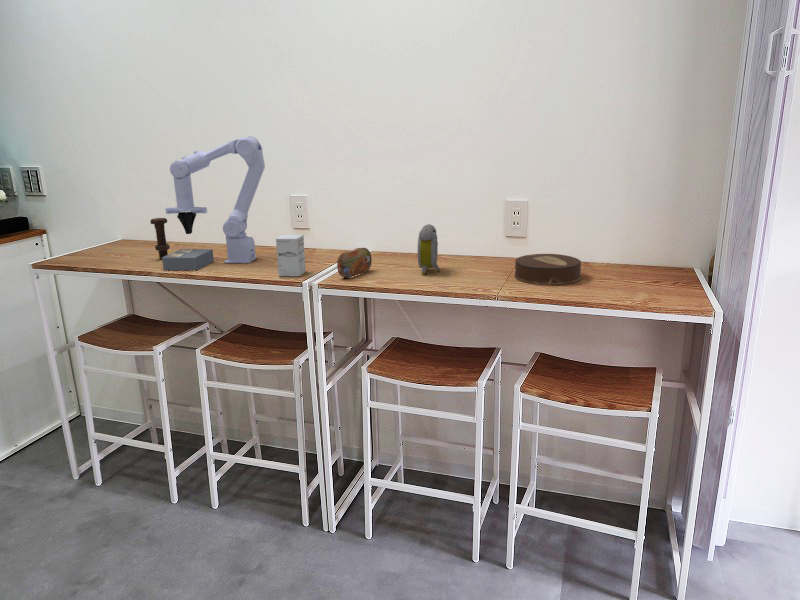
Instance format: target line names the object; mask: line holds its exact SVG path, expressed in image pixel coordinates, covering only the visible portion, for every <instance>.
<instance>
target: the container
mask: <svg viewBox="0 0 800 600" xmlns="http://www.w3.org/2000/svg"><path fill="white" fill-rule="evenodd" d="M514 262H515V264H514V265H515V267H514V269H515V270H514V279H516V280H517V281H519V282H521V283H525V284H530V285H534V286H535V285H536V286H547V287H550V286H566V285H571V284H576V283H578V282H579V281H581V280H582V278H581V272H582V271H581V267H582V261H581V260H580V259H578V258H577V257H575V256H570V255H566V254H559V253H533V254H526V255H522V256H521V255H520V256H518V257H517V258H516V259H515V261H514Z"/></svg>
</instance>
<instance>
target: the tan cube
mask: <svg viewBox="0 0 800 600" xmlns="http://www.w3.org/2000/svg"><path fill="white" fill-rule="evenodd" d="M183 255H185V254H172V255H170V256H168V257H181V256H183Z"/></svg>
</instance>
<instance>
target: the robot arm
mask: <svg viewBox="0 0 800 600" xmlns="http://www.w3.org/2000/svg"><path fill="white" fill-rule="evenodd" d="M228 154H233V155H237V154H238V155H239V156H240V157H241V158H242V159H243V160H244V161H245V163H246V165H247V167H248V169H247V171H246V175H245V178H244V181H243V182H242V185H241V188H240V191H239V194H238V197H237V199H236V202H235V204H234V208H233V210H232V211H231V213H230V215H228V216H229V217H228V218H227V220H226V221H225V222H224V223H223V225H222V231H223V233H224V235H225V241H226V254H227V259H226V260H224V261H223V263H225V264H251V262H253V261H255V260H256V259H257V256H256V255H257V254H256V246H255V245H256V244H255V240H254V238H253V237H252V236H247V233H246V230H247V228H248V222H247V221H248V217H249V210H250V208H251V205H252V203H253V200H254V198H255V194H256V192H257V190H258V186H259V184H260V182H261V181H260V180H261V179H262V176H263V173H264V171H265V167H266V166H265V165H266V164H265V160H264V154H263V146H262V145H261V143H260V141H259V140H258V139H257V138H256V137H254V136H247V137H241V138H238V139H232V140H230V141H227V142H225V143H223V144H221V145H218V147H215V148H213V149H211V150H209V151H206V152H205V151H203V150H195V151H193V153H192V154H191V155H189V156H182V157H181V159H180V160H175V161H173V162H172V163H171V164H170V166H169V172H170V174H171V176H173V184H174V185H173V186H174V191H175V201H176V207H175V206H174V207H166V208H165V214H167V215H169V214H177V215H176V218H177V219H178V220H179V222H180V223H181V225H182V227H183V229H184V233H185V234H186V235H191V234H193V228H194V223H195V219H196V217H197V214H207V213H208V210H207V209H208V208H207V207H206V206H205V207H202V206H195V202H194V195H193V186H192V179H191V174H194V173H197V172H199V171H202V170H204V169H205V168H208V167H210V164H211V161H214V160H216V159H218V158H221V157H224V156H226V155H228Z"/></svg>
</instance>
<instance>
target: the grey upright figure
mask: <svg viewBox="0 0 800 600" xmlns="http://www.w3.org/2000/svg"><path fill="white" fill-rule="evenodd" d="M438 246H439V244H438V234H437V229H436V227H435V226H434V225H433V224H430V223H428V224H425V225H424V226H423V227H422V228H421V230H420V231H419V233H418V239H417V263H418V264H417V265H418V267H419V268H421V276H425V273H426V272H427V271H426V270H427V269H434V270H436V271H437V272H438V273H440V272H441V271H442V270H441V268H440V267H439V265H438V253H439V252H438V251H439V250H438Z"/></svg>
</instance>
